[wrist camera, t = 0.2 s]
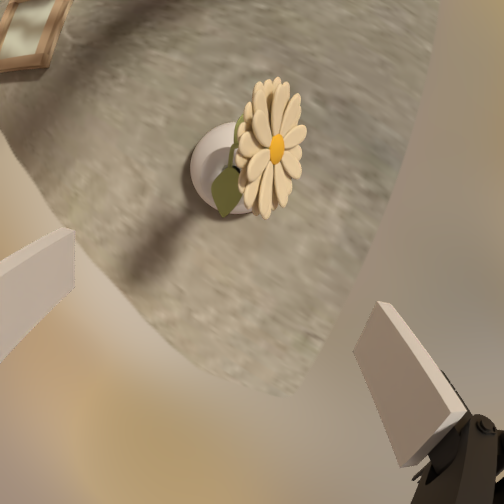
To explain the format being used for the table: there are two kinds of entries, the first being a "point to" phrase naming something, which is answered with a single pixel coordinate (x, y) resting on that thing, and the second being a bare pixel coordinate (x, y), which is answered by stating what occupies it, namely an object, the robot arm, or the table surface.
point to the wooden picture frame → (30, 33)
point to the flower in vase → (252, 154)
